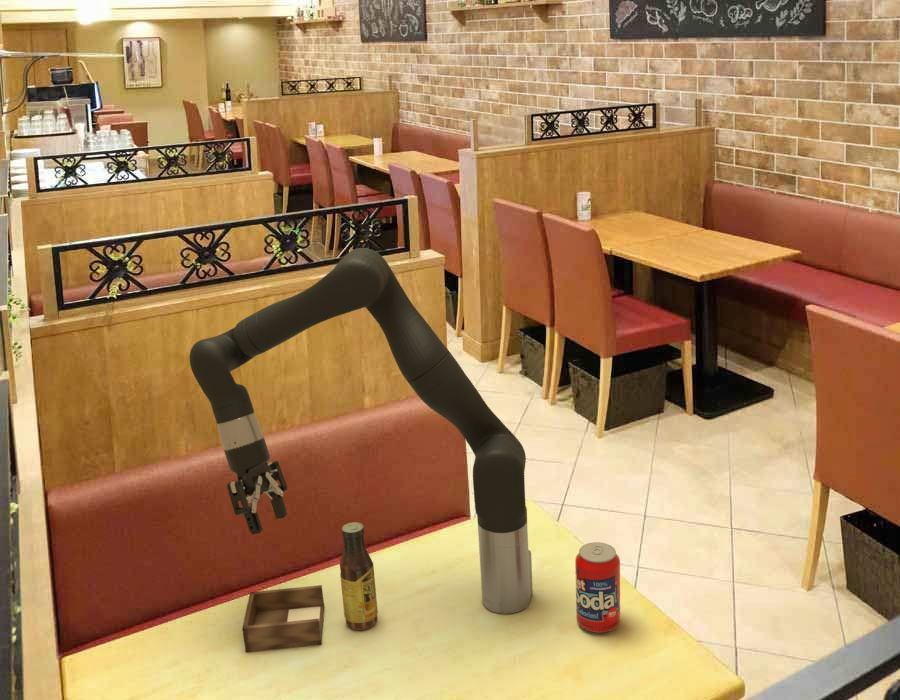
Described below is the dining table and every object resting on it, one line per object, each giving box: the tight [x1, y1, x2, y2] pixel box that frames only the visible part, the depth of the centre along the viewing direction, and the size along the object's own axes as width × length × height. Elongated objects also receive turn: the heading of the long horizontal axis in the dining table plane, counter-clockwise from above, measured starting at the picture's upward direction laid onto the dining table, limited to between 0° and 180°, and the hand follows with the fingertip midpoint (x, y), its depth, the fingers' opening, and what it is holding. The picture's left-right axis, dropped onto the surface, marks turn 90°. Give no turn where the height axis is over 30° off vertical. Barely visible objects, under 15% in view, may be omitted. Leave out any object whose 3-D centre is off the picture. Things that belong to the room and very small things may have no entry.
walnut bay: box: [241, 584, 325, 653], centre depth 171 cm, size 14×12×5 cm
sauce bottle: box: [339, 521, 379, 631], centre depth 170 cm, size 7×6×20 cm
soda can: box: [574, 541, 621, 633], centre depth 165 cm, size 8×8×15 cm
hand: (270, 525), depth 170 cm, fingers open, 8 cm apart
